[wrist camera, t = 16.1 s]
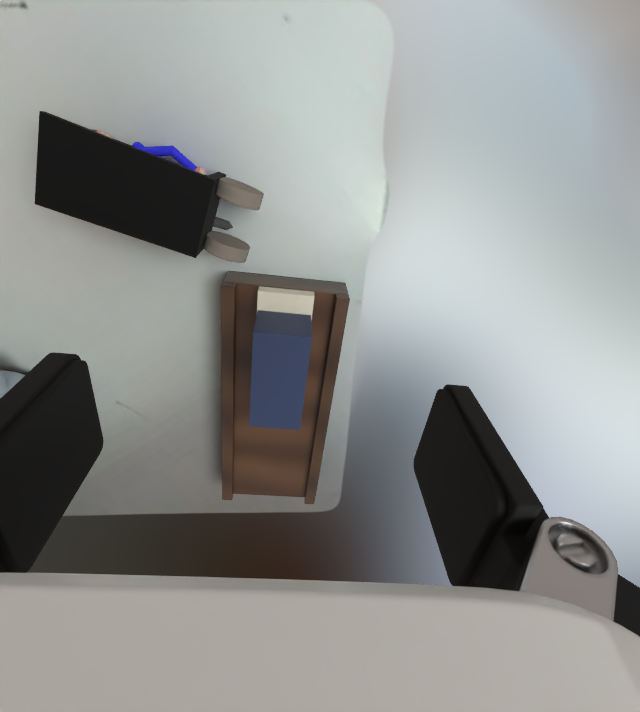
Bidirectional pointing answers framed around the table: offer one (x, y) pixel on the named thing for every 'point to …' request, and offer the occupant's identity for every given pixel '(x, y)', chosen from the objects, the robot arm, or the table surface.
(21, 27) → the table surface
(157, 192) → the figurine character
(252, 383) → the blue milk carton
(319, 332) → the brown wooden tray
